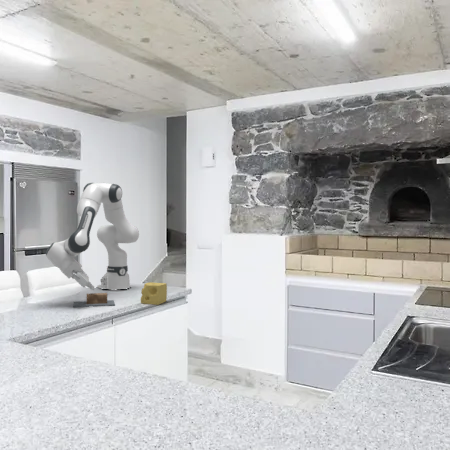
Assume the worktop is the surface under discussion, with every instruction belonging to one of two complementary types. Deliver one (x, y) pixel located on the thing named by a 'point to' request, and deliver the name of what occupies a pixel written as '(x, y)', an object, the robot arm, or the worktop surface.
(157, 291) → the cheese
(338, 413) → the worktop surface
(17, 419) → the worktop surface
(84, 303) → the slate mat
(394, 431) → the worktop surface
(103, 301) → the walnut block
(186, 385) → the worktop surface
